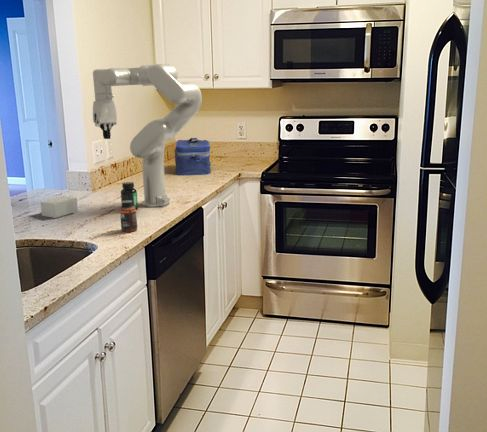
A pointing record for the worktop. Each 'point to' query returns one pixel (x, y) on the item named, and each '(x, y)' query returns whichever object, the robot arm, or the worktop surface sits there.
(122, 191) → the supplement bottle
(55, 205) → the small box
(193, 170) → the lunch bag
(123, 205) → the supplement bottle
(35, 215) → the mat
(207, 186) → the worktop surface
